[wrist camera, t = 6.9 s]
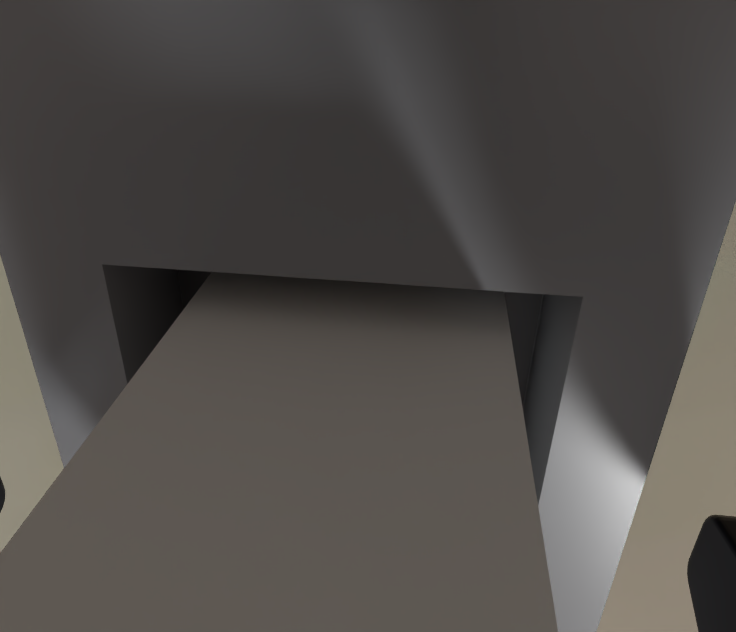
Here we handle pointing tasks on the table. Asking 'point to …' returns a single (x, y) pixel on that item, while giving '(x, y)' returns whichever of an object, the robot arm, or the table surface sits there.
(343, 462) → the plug
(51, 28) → the pdu strip
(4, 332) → the table surface
